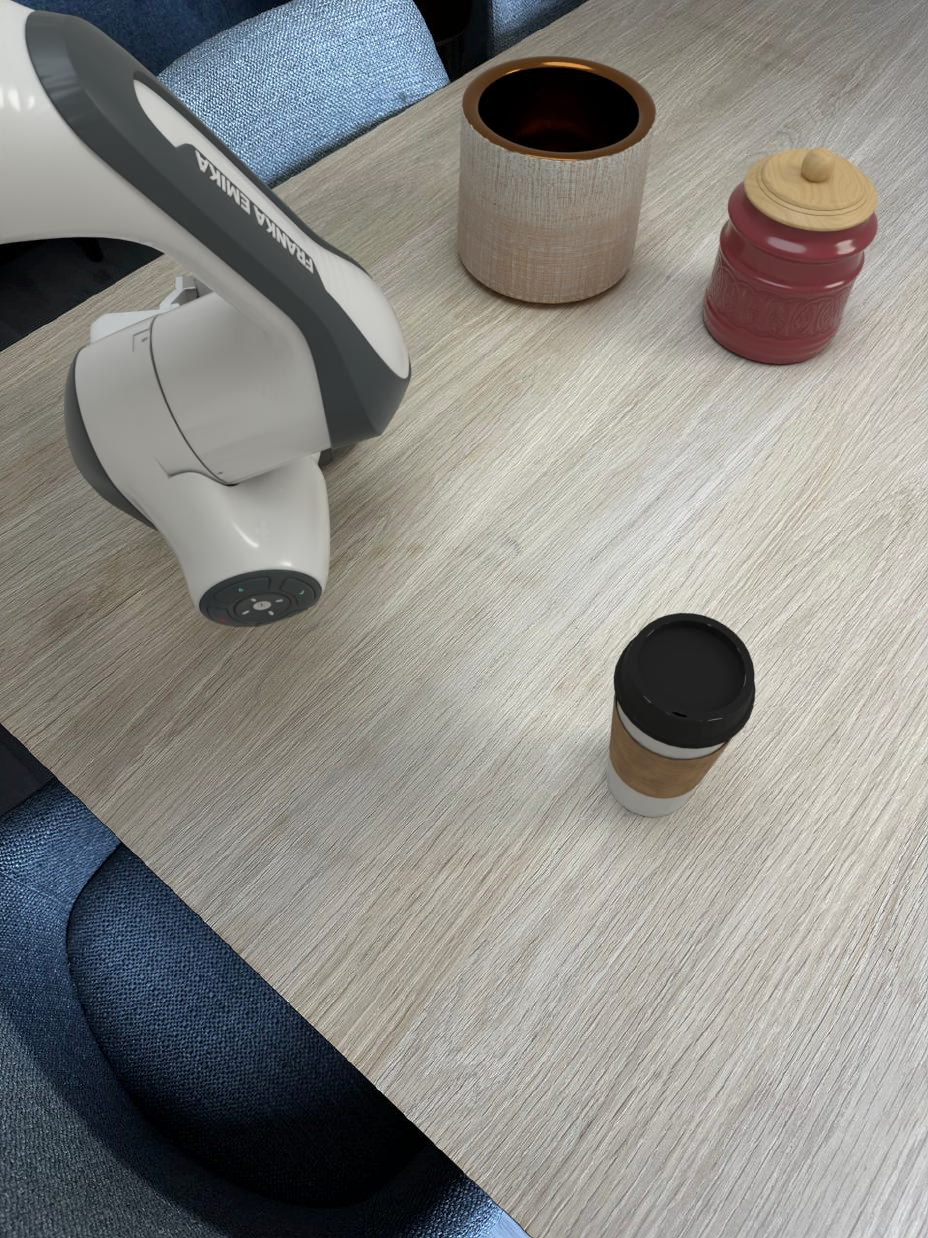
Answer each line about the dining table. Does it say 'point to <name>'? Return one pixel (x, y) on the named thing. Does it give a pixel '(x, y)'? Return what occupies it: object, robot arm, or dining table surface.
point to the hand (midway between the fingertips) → (240, 278)
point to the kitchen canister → (789, 255)
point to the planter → (552, 176)
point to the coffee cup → (675, 709)
